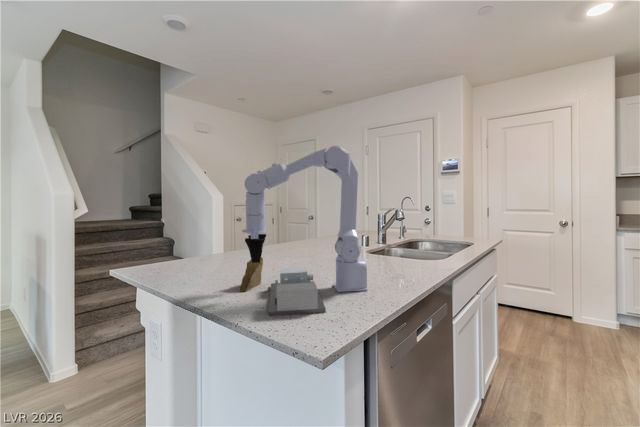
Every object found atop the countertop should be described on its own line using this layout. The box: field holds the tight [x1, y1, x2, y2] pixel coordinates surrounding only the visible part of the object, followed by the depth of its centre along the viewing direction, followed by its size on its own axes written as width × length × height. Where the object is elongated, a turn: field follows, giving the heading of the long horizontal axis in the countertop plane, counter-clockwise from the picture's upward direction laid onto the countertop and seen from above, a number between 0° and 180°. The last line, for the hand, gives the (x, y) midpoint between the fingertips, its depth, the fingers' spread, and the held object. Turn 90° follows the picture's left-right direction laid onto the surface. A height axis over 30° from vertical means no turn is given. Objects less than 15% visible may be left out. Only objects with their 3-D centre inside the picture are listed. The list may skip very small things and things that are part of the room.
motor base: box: [268, 279, 327, 317], centre depth 88 cm, size 14×25×6 cm, turn 8°
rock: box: [239, 256, 264, 292], centre depth 99 cm, size 11×9×10 cm
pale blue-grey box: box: [279, 266, 314, 284], centre depth 93 cm, size 10×9×5 cm
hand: (256, 259), depth 92 cm, fingers open, 7 cm apart
